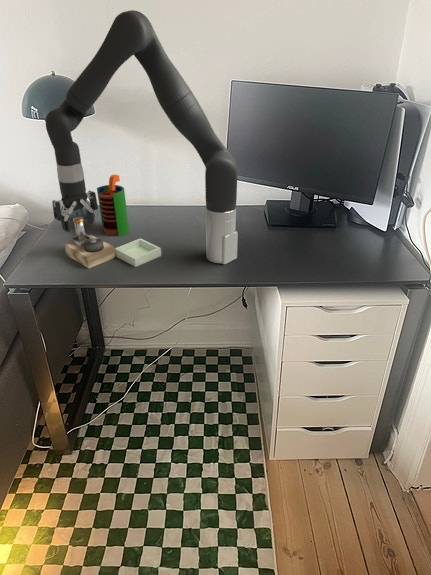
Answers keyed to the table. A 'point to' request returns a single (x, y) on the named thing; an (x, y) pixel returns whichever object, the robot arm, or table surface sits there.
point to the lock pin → (79, 228)
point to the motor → (113, 208)
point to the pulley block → (89, 251)
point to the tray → (137, 252)
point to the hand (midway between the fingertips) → (79, 227)
